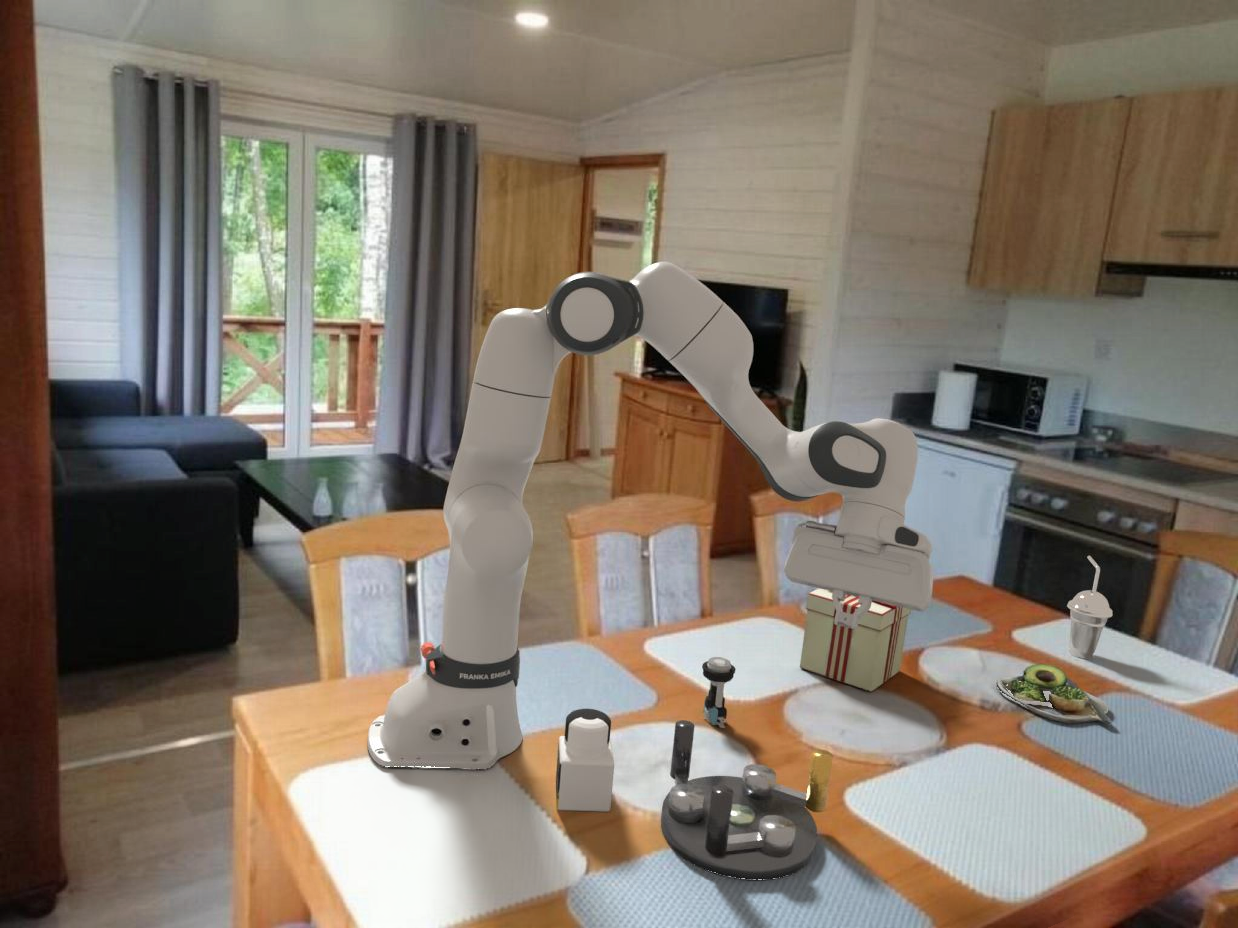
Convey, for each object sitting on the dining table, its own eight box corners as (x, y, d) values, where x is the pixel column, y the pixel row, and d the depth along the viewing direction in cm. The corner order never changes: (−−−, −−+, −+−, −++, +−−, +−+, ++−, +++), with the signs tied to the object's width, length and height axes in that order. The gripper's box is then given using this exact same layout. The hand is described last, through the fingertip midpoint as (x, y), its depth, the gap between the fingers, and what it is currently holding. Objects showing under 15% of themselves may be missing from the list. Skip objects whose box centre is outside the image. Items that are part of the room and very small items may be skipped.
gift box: (907, 664, 180) (920, 580, 177) (878, 696, 165) (892, 605, 162) (823, 640, 189) (834, 559, 186) (789, 668, 174) (800, 581, 170)
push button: (737, 729, 148) (744, 671, 146) (706, 731, 147) (713, 672, 145) (722, 710, 155) (728, 654, 153) (692, 711, 153) (698, 655, 151)
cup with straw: (1056, 654, 192) (1073, 562, 188) (1061, 642, 200) (1078, 553, 196) (1101, 666, 188) (1120, 572, 184) (1105, 653, 195) (1123, 562, 191)
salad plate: (1140, 725, 163) (1146, 701, 162) (1067, 737, 156) (1072, 712, 155) (1052, 679, 180) (1056, 656, 180) (981, 688, 173) (985, 664, 172)
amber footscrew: (736, 793, 126) (743, 737, 124) (747, 778, 130) (754, 724, 128) (819, 821, 121) (827, 764, 119) (828, 806, 124) (836, 750, 123)
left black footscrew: (704, 823, 118) (710, 764, 116) (669, 821, 118) (676, 762, 116) (694, 775, 129) (699, 721, 128) (662, 773, 129) (668, 719, 127)
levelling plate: (694, 889, 109) (696, 869, 108) (640, 795, 127) (642, 778, 127) (844, 869, 115) (847, 851, 114) (772, 782, 133) (774, 766, 133)
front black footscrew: (782, 833, 117) (790, 774, 116) (799, 854, 113) (807, 793, 112) (698, 842, 114) (705, 782, 112) (712, 864, 110) (719, 802, 108)
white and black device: (555, 781, 129) (561, 701, 126) (606, 783, 130) (613, 703, 127) (556, 811, 122) (562, 727, 120) (610, 812, 123) (617, 729, 120)
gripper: (792, 511, 134) (767, 604, 130) (939, 540, 124) (916, 640, 121) (802, 524, 139) (778, 613, 136) (943, 552, 130) (922, 648, 126)
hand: (845, 626), depth 128 cm, fingers closed
